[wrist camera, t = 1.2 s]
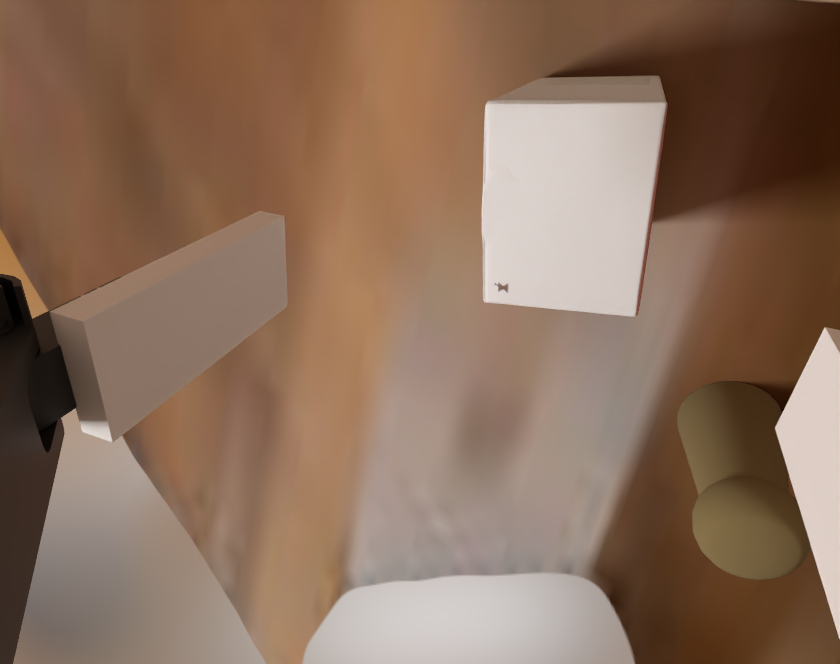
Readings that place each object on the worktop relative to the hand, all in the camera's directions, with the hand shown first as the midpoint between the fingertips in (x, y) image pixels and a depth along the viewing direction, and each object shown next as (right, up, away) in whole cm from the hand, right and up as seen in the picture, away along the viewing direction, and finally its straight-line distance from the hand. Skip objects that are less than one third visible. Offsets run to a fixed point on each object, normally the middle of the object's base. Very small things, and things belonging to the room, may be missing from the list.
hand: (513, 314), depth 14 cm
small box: (+7, +10, +18) cm, 22 cm away
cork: (+17, -6, +22) cm, 29 cm away
